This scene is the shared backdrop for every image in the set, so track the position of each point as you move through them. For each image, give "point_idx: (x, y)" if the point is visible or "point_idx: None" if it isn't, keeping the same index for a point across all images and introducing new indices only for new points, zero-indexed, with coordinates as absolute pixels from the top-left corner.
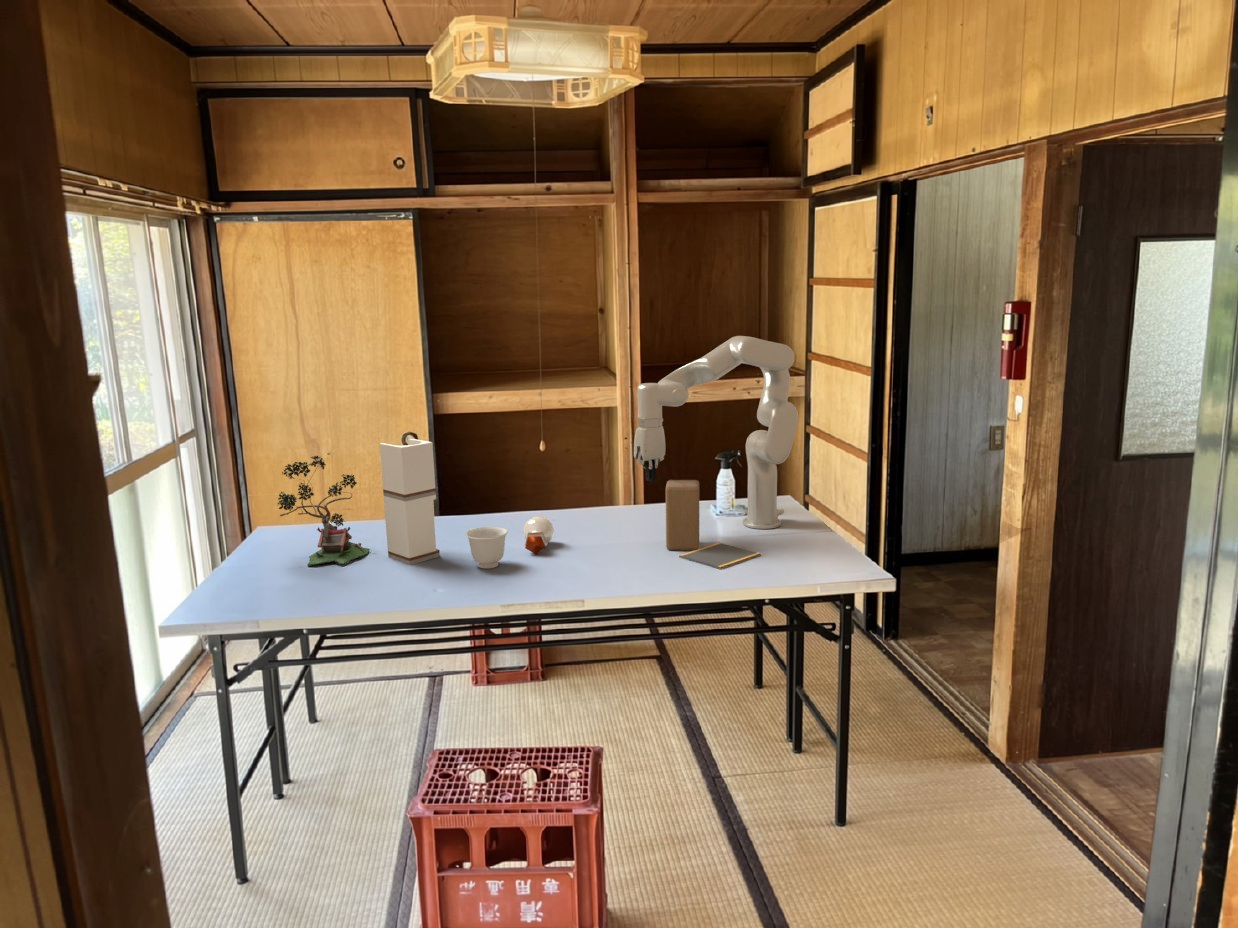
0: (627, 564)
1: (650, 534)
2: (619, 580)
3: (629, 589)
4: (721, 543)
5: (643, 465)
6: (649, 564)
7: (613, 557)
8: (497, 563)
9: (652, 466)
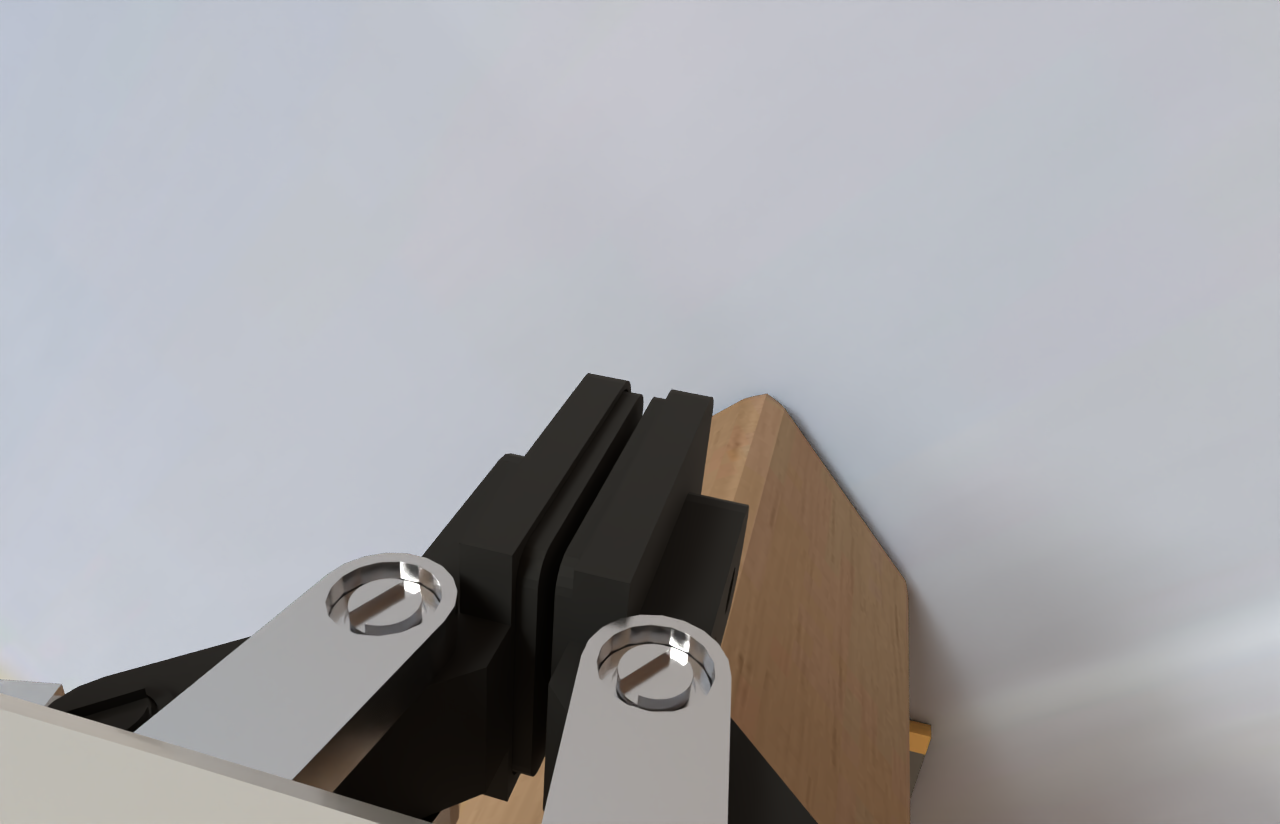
0: (194, 431)
1: (879, 96)
2: (32, 536)
3: (19, 629)
4: (917, 752)
5: (193, 682)
6: (294, 537)
7: (199, 268)
8: None
9: (545, 791)
